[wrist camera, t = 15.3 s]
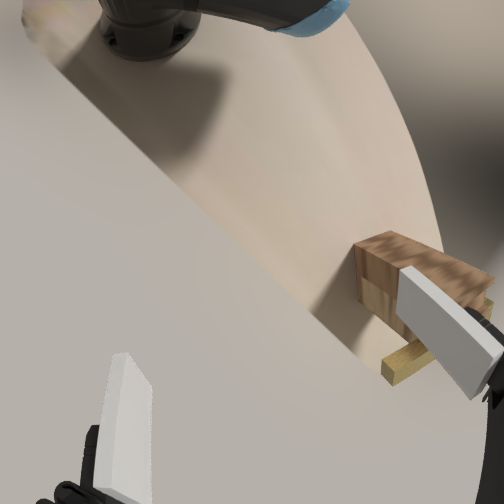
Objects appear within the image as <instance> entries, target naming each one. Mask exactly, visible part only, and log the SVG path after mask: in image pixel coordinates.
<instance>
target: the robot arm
mask: <svg viewBox="0 0 504 504" xmlns="http://www.w3.org/2000/svg"><path fill="white" fill-rule="evenodd" d="M98 1H99V3H100V5H101V7H102V9H103V11H102V15H101V20H100V32H101V36H102V38H103V40H104V42H105V44H106V45H107V47H108V48H109V49H110V50H111V51H112V52H113V53H114V54H116V55H117V56H119V57H121V58H124V59H127V60H132V61H151V60H156V59H160V58H163V57H166V56H168V55H171V54H173V53H175V52H176V51H178V50H179V49H181V48H182V47H184V46H185V45H186V44H187V43H188V42H189V41H190V40H191V39H192V37H193V36H194V35H195V33H196V31H197V29H198V27H199V23H200V19H201V13H202V14H208V15H213V16H218V17H223V18H228V19H232V20H236V21H240V22H244V23H248V24H252V25H256V26H259V27H263V28H264V29H266V30H268V31H271V32H272V31H273V32H281V33H284V34H288V35H291V36H295V37H310V36H314V35H316V34H318V33H320V32H322V31H324V30H325V29H327V28H328V27H330V26H331V25H332V24H333V23H334V22H335V21H337V20H338V19H339V18H340V17H341V15H342V14H343V13H344V12H345V11H346V9H347V8H348V6H349V5H350V3H349V0H98ZM396 314H397V315H398V316H399V317H400V319H401V320H402V321H403V322H404V323H405V324H406V325H407V326H408V327H409V328H410V330H411V331H412V332H413V333H414V334H415V335H416V336H417V337H418V339H419V340H420V341H421V342H422V343H423V344H424V345H425V347H426V348H427V349H428V350H429V351H430V352H431V354H432V355H433V356H434V357H435V358H436V359H437V361H438V362H439V363H440V364H441V365H442V366H443V368H444V369H445V370H446V371H447V372H448V374H449V375H450V376H451V377H452V378H453V380H454V381H455V382H456V383H457V385H458V386H459V387H460V388H461V389H462V391H463V392H464V393H465V395H466V396H467V397H468V398H469V400H472V399H473V398H474V397H475V396H477V395H478V394H479V393H481V392H482V390H483V389H484V387H485V385H486V384H488V385H489V386H490V387H489V389H488V391H487V392H486V394H485V395H484V397H483V400H482V402H484V401H485V400H486V398H487V397H488V401H487V402H488V418H487V433H486V445H485V453H484V460H483V467H482V473H481V479H480V484H479V489H478V494H477V498H476V502H475V504H504V335H503V334H502V333H501V332H500V331H499V330H498V329H497V328H496V327H495V326H494V325H492V324H491V323H490V322H489V321H488V320H487V319H485V317H484V316H483V315H482V314H481V313H479V312H478V311H477V310H475V309H473V308H470V307H468V306H467V307H465V308H464V309H463V308H462V307H461V306H459V305H458V304H457V303H456V302H455V301H454V300H453V299H451V298H450V297H449V296H448V295H447V294H446V293H444V292H443V291H442V290H441V289H440V288H439V287H437V286H436V285H435V284H434V283H433V282H431V281H430V280H429V279H428V278H427V277H425V276H424V275H423V274H422V273H420V272H419V271H418V270H417V269H415V268H414V267H413V266H412V265H411V266H408V267H406V268H403V269H401V270H399V284H398V295H397V305H396ZM152 390H153V389H152V387H151V385H150V384H149V383H148V381H147V380H146V378H145V377H144V376H143V374H142V373H141V371H140V370H139V368H138V367H137V365H136V364H135V363H134V361H133V360H132V358H131V357H130V355H129V354H128V352H123V353H118V354H114V355H113V358H112V362H111V367H110V371H109V376H108V381H107V386H106V391H105V397H104V402H103V408H102V414H101V420H100V425H92V426H91V428H90V430H89V431H88V433H87V435H86V441H85V448H84V457H83V462H82V470H81V479H80V486H78V485H77V484H75V483H73V482H71V481H64V482H61V483H60V484H59V485H58V486H57V487H56V489H55V492H54V500H55V503H53V502H52V501H50V500H48V499H40V500H38V501H37V502H36V504H152V489H151V412H152Z"/></svg>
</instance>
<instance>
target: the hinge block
mask: <svg viewBox="0 0 504 504" xmlns="http://www.w3.org/2000/svg"><path fill="white" fill-rule="evenodd" d="M354 251H355V262H356V274H357V288H358V301H359V302H360V303H362V304H363V305H364V306H365V307H366V308H368V309H369V310H370V311H371V312H373V313H374V314H375V315H376V316H377V317H379V318H380V319H381V320H382V321H383V322H385V323H386V324H387V325H388V326H389V327H391V328H392V329H393V330H394V331H395V332H397V333H398V334H399V335H400V336H401V337H402V338H404V339H405V340H406V341H407V342H408V343H411V342H413V341H414V340H416V339H417V338H418V337H417V336H416V335H415V334H414V333H413V332H412V331H411V330H410V328H409V327H408V326H407V325H406V324H405V323H404V322H403V321H402V320H401V319H400V317H399V316H398V315H397V314H396V305H397V295H398V284H399V270H401V269H403V268H406V267H408V266H411V265H412V266H413V267H414V268H415V269H417V270H418V271H419V272H420V273H422V274H423V275H424V276H425V277H427V278H428V279H429V280H430V281H431V282H433V283H434V284H435V285H436V286H437V287H439V288H440V289H441V290H442V291H443V292H444V293H446V294H447V295H448V296H449V297H450V298H451V299H453V300H454V301H455V302H456V303H457V304H458V305H459V306H461V307H462V308H463V309H464V308H465V307H467V306H468V307H470V308H473V309H475V310H477V311H478V312H479V313H481V314H482V315H483V316H485V315H486V314H487V313H488V309H489V308H488V307H487V306H485V305H483V304H484V299H485V293H486V289H487V288H488V287H490V286H491V285H492V284H493V283H494V279H495V278H494V277H493V276H491V275H489V274H487V273H485V272H483V271H481V270H479V269H476V268H474V267H472V266H470V265H468V264H466V263H464V262H462V261H460V260H457V259H455V258H453V257H451V256H449V255H447V254H444V253H442V252H440V251H438V250H435V249H433V248H431V247H429V246H426V245H424V244H422V243H419V242H417V241H415V240H412V239H410V238H407V237H405V236H403V235H400V234H398V233H395V232H393V231H388V232H385V233H382V234H380V235H377V236H374V237H371V238H369V239H366V240H363V241H360V242H358V243H355V244H354Z"/></svg>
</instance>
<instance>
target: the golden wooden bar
mask: <svg viewBox="0 0 504 504" xmlns="http://www.w3.org/2000/svg"><path fill="white" fill-rule="evenodd" d="M493 303H494V302H493V301H491V300H489V299H488V298H486V297H485V299H484V304H483V305H485V306H487V307H488V308H489V309H488V313H487V314H486V315H485V316H484V317H485V319H487V320H488V321H489V320H490V316H491V312H492V308H493ZM434 359H436V358H435V357H434V356H433V355H432V354H431V352H430V351H429V350H428V349H427V348H426V347H425V345H424V344H423V343H422V342H421V341H420V340H419V339H418V338H417V339H416V340H414V341H413V342H411V343H409V344H408V345H406V346H404V347H403V348H401V349H399V350H397V351H396V352H394V353H392V354H390V355H389V356H387V357H385V358H383V359H382V365H381V375H382V376H383V377H384V378H385V379H386V380H387V381H388V382H389V383H390V384H391V385H392V386H394V385H396V384H397V383H399V382H401V381H402V380H404V379H406V378H407V377H409V376H410V375H412V374H413V373H415V372H417V371H418V370H420V369H421V368H423V367H424V366H426V365H427V364H429V363H430V362H431V361H433V360H434Z"/></svg>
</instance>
